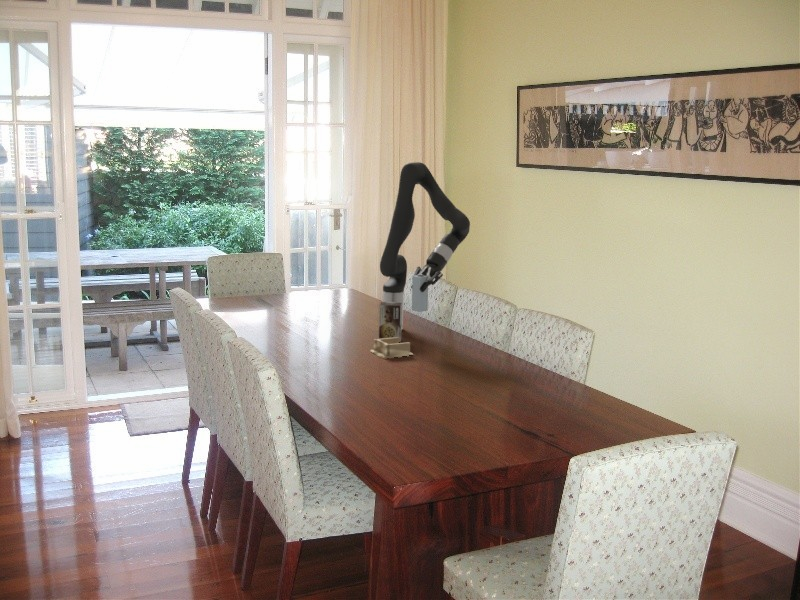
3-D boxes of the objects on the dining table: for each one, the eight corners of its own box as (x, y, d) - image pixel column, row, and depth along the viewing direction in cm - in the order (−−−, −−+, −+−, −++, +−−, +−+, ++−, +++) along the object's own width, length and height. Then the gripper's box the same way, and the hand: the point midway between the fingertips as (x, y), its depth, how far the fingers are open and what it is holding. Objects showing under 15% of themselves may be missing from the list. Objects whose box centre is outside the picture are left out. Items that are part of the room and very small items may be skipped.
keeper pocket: (370, 351, 352) (370, 339, 351) (398, 348, 358) (399, 336, 357) (383, 359, 342) (384, 345, 341) (413, 355, 348) (413, 342, 347)
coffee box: (401, 339, 374) (402, 302, 371) (399, 343, 368) (401, 305, 364) (380, 338, 375) (381, 301, 372) (378, 342, 368) (379, 304, 365)
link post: (411, 310, 355) (412, 274, 352) (420, 308, 358) (420, 273, 355) (419, 312, 352) (419, 275, 349) (427, 310, 355) (428, 274, 352)
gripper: (423, 249, 360) (400, 281, 355) (447, 253, 350) (424, 286, 345) (432, 260, 365) (410, 292, 360) (456, 265, 354) (433, 298, 349)
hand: (417, 289), depth 352 cm, fingers closed on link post, 4 cm apart
